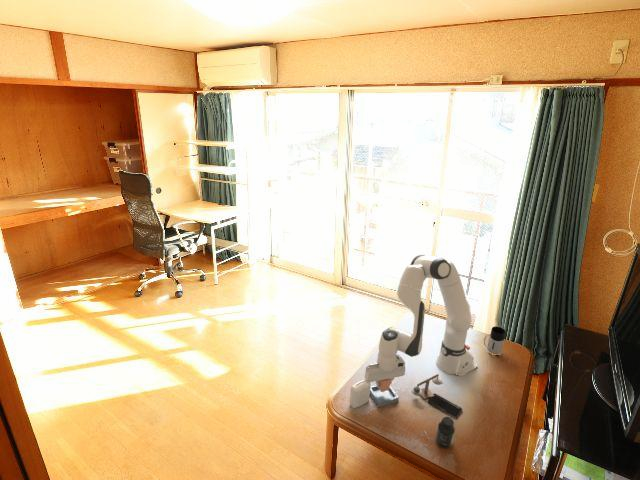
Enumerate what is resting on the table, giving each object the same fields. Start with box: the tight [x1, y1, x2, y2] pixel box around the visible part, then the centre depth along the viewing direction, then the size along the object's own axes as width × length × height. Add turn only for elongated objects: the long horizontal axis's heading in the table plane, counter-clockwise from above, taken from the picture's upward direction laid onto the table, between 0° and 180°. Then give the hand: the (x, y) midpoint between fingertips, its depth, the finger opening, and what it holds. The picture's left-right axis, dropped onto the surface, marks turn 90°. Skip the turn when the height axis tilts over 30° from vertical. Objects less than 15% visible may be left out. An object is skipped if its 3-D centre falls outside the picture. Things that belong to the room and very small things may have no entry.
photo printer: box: [349, 379, 372, 409], centre depth 177 cm, size 10×4×12 cm, turn 123°
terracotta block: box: [378, 378, 391, 392], centre depth 181 cm, size 4×4×6 cm
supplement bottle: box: [435, 416, 456, 449], centre depth 158 cm, size 7×7×12 cm
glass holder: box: [483, 325, 507, 354], centre depth 216 cm, size 9×14×15 cm, turn 113°
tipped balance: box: [411, 373, 443, 401], centre depth 184 cm, size 17×6×11 cm, turn 111°
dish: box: [370, 384, 400, 408], centre depth 183 cm, size 11×11×2 cm
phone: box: [427, 393, 463, 420], centre depth 179 cm, size 8×1×15 cm
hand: (383, 384), depth 182 cm, fingers closed on terracotta block, 5 cm apart
